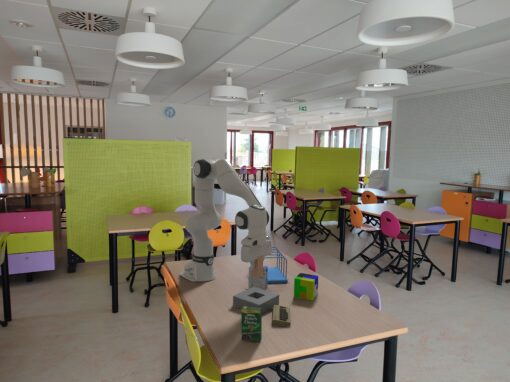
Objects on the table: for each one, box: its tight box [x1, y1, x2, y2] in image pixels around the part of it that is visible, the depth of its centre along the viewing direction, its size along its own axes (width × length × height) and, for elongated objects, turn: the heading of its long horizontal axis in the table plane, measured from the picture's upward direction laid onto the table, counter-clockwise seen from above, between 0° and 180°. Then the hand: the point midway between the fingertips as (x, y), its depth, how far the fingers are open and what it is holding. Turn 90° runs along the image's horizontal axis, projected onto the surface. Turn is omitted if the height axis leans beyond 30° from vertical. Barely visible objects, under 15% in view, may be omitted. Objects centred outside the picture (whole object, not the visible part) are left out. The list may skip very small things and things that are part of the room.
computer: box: [271, 304, 292, 327], centre depth 161 cm, size 16×8×3 cm, turn 176°
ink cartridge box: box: [247, 265, 269, 291], centre depth 196 cm, size 10×6×14 cm, turn 78°
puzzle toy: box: [293, 272, 319, 301], centre depth 188 cm, size 10×10×10 cm
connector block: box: [251, 255, 264, 277], centre depth 172 cm, size 4×4×10 cm
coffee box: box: [240, 306, 263, 343], centre depth 141 cm, size 8×3×13 cm, turn 76°
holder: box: [232, 287, 280, 315], centre depth 174 cm, size 16×16×5 cm
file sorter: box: [265, 246, 289, 284], centre depth 216 cm, size 25×17×15 cm
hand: (257, 267), depth 173 cm, fingers closed on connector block, 4 cm apart
